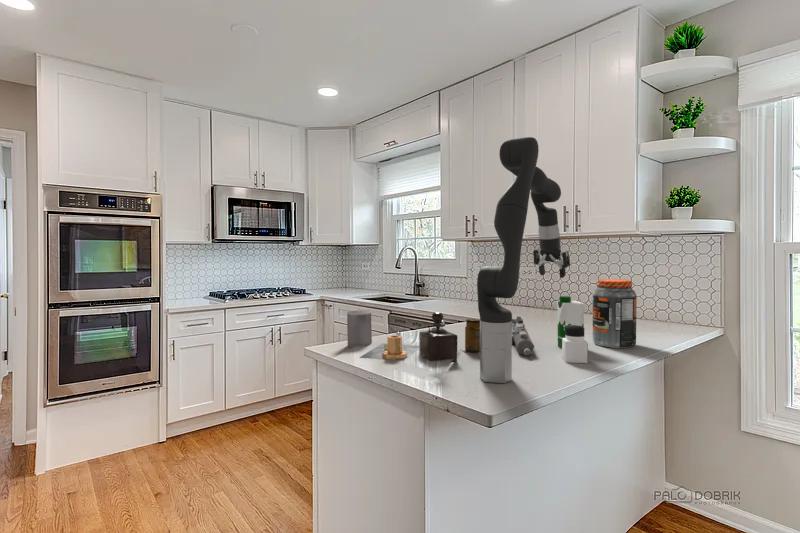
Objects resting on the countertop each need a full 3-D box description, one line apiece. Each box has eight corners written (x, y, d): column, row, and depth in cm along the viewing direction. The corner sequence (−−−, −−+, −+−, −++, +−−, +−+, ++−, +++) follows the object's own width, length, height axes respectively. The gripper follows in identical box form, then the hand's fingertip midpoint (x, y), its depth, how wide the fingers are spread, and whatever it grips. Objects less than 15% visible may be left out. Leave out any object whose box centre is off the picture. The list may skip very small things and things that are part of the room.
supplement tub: (586, 340, 182) (587, 278, 181) (626, 340, 180) (626, 278, 180) (600, 348, 166) (600, 281, 165) (643, 349, 165) (644, 281, 164)
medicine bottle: (588, 363, 145) (588, 327, 144) (565, 362, 146) (565, 327, 146) (583, 358, 152) (583, 324, 151) (561, 357, 153) (562, 323, 153)
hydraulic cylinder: (521, 332, 188) (522, 310, 186) (537, 368, 153) (538, 341, 151) (504, 332, 189) (504, 310, 187) (515, 368, 153) (516, 341, 152)
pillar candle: (353, 343, 180) (352, 307, 179) (375, 344, 177) (374, 307, 177) (343, 348, 171) (342, 310, 170) (367, 349, 168) (366, 311, 167)
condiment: (478, 348, 168) (478, 317, 168) (487, 353, 160) (487, 321, 159) (460, 349, 167) (460, 318, 166) (468, 354, 158) (468, 322, 158)
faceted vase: (402, 360, 146) (402, 339, 146) (379, 358, 148) (379, 338, 148) (409, 354, 154) (409, 335, 153) (387, 353, 156) (387, 334, 156)
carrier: (403, 364, 145) (403, 343, 145) (359, 361, 150) (358, 340, 150) (421, 348, 168) (421, 330, 168) (382, 346, 173) (382, 328, 173)
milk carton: (554, 346, 172) (555, 295, 171) (577, 346, 171) (578, 295, 171) (562, 351, 163) (563, 298, 162) (587, 351, 163) (587, 297, 162)
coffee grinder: (416, 357, 154) (416, 307, 154) (445, 355, 158) (445, 305, 157) (434, 368, 140) (433, 313, 139) (465, 365, 143) (465, 311, 143)
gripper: (527, 237, 169) (531, 276, 174) (560, 239, 158) (564, 281, 163) (538, 232, 174) (541, 271, 178) (571, 234, 163) (574, 275, 167)
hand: (552, 276), depth 170 cm, fingers open, 8 cm apart
